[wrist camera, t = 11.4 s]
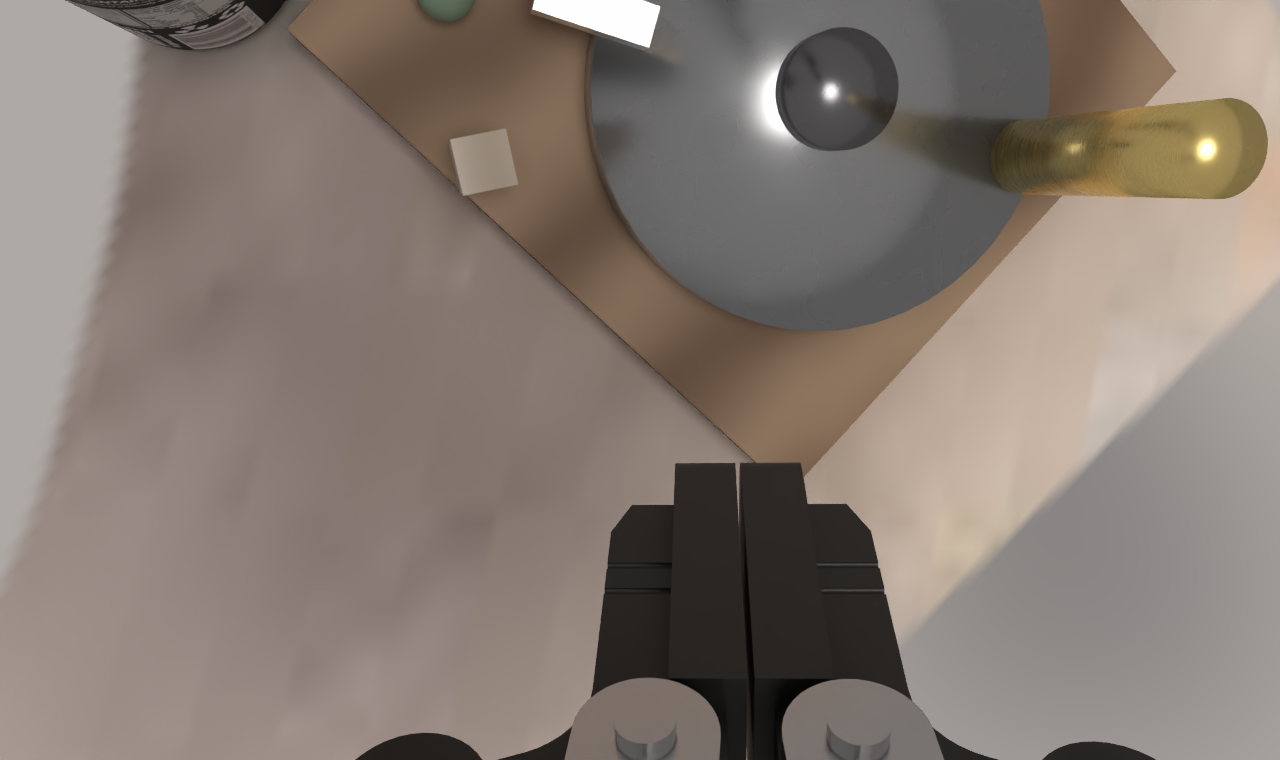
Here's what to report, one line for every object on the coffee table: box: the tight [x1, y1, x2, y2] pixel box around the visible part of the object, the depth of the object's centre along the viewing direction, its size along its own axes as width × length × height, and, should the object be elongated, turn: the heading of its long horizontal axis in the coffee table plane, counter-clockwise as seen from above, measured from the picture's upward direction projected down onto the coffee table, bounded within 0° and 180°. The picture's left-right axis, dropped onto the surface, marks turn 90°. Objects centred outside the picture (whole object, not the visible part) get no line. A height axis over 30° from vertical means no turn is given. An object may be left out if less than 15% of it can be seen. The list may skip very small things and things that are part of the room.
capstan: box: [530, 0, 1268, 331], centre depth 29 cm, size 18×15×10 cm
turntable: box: [287, 0, 1176, 477], centre depth 33 cm, size 22×20×5 cm
